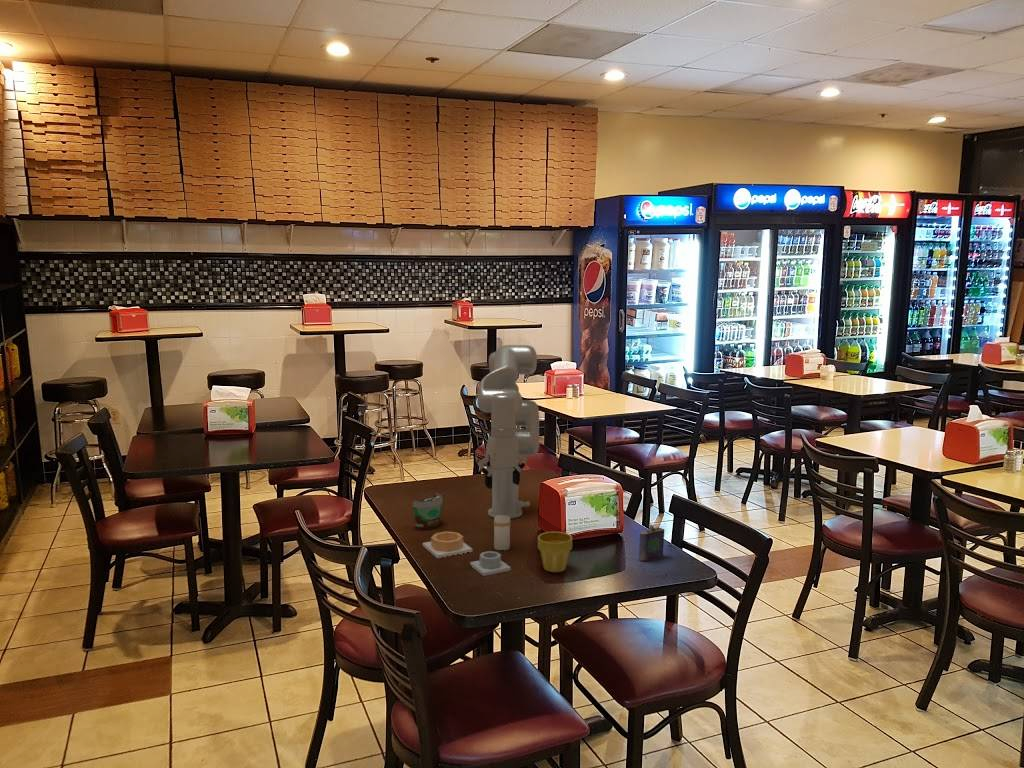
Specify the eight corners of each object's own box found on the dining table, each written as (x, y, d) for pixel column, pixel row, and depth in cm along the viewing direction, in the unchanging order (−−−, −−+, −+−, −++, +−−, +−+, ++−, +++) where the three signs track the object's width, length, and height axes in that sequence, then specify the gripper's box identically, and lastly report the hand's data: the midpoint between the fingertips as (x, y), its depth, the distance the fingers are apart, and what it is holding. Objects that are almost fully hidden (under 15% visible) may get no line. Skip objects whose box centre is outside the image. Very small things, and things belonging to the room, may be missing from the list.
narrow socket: (496, 560, 230) (496, 547, 229) (510, 570, 222) (510, 557, 222) (470, 565, 226) (470, 552, 225) (483, 576, 218) (483, 563, 217)
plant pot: (536, 561, 230) (537, 530, 228) (570, 561, 230) (571, 531, 228) (537, 574, 219) (538, 542, 218) (573, 575, 219) (573, 543, 218)
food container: (425, 533, 253) (425, 504, 252) (412, 529, 257) (412, 500, 255) (450, 523, 263) (450, 496, 261) (437, 519, 266) (437, 492, 265)
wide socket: (456, 539, 247) (456, 528, 246) (472, 551, 237) (472, 539, 236) (422, 545, 241) (422, 534, 241) (437, 558, 231) (437, 546, 230)
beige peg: (505, 543, 244) (505, 514, 243) (513, 549, 240) (513, 518, 238) (490, 546, 242) (491, 516, 240) (498, 551, 237) (498, 521, 235)
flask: (642, 562, 230) (643, 528, 228) (636, 559, 232) (637, 525, 231) (665, 557, 235) (666, 524, 233) (658, 553, 237) (660, 521, 235)
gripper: (521, 428, 242) (520, 479, 245) (473, 432, 234) (472, 486, 236) (532, 432, 236) (532, 485, 238) (483, 437, 227) (483, 492, 230)
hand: (502, 485), depth 237 cm, fingers open, 9 cm apart
